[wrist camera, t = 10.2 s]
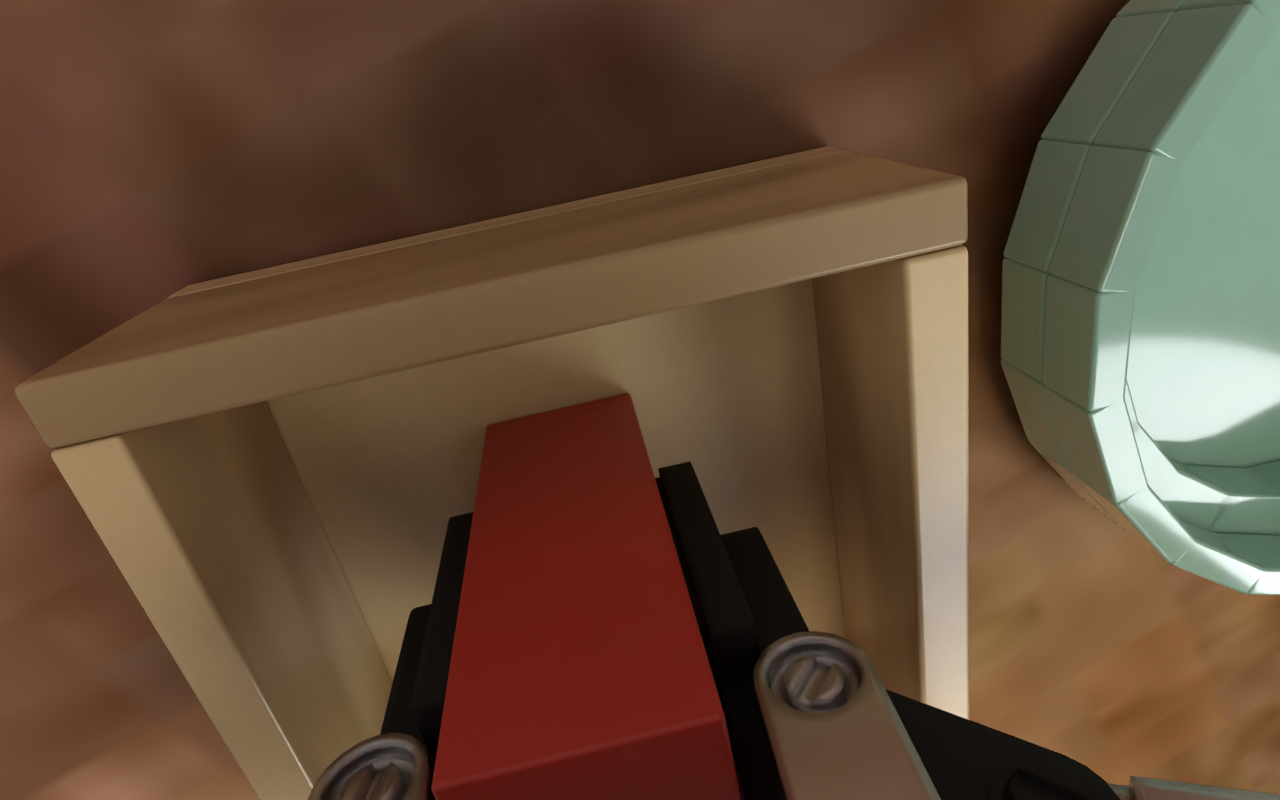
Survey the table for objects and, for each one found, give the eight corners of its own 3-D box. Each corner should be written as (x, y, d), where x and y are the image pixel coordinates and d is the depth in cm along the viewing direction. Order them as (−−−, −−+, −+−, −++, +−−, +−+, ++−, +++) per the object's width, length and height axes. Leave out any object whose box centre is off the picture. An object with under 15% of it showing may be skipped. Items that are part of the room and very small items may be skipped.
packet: (485, 424, 12) (428, 790, 6) (629, 391, 12) (725, 716, 6) (549, 627, 14) (556, 1072, 8) (674, 597, 14) (784, 1012, 8)
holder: (186, 284, 12) (6, 387, 8) (830, 144, 12) (970, 174, 8) (401, 748, 16) (356, 964, 12) (868, 634, 16) (971, 808, 12)
